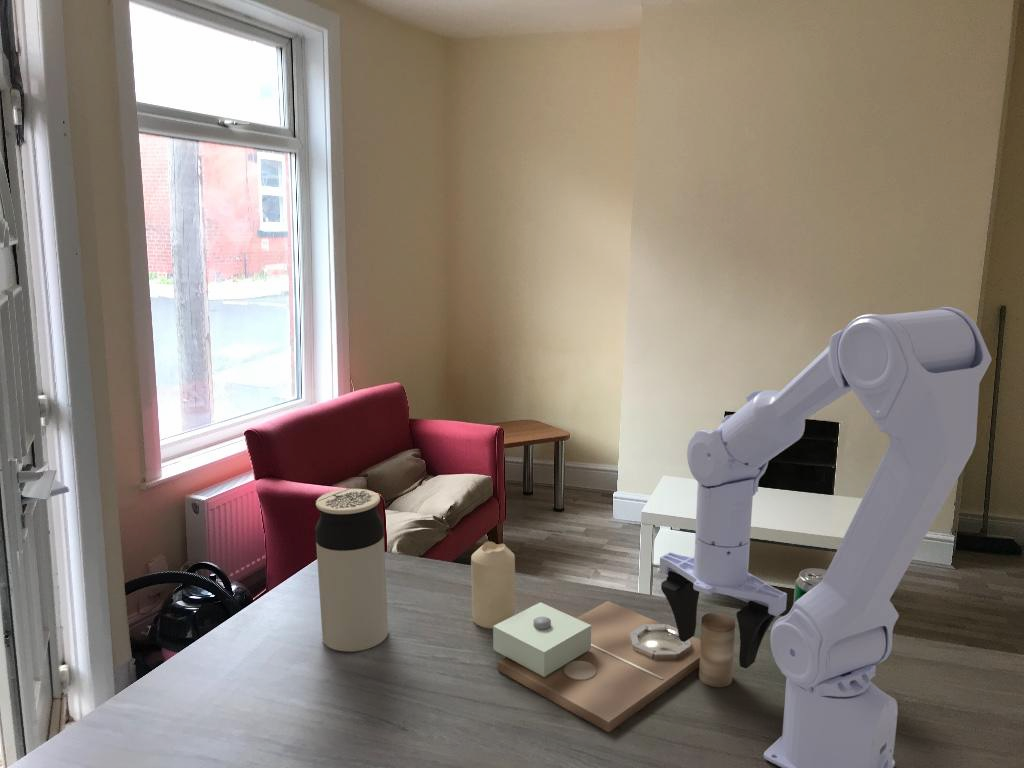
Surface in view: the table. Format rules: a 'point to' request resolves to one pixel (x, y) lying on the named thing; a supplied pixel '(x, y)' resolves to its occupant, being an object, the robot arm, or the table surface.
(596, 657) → the board
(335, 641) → the travel mug
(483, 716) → the table surface
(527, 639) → the cover
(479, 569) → the candle
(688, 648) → the socket ring
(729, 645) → the peg
